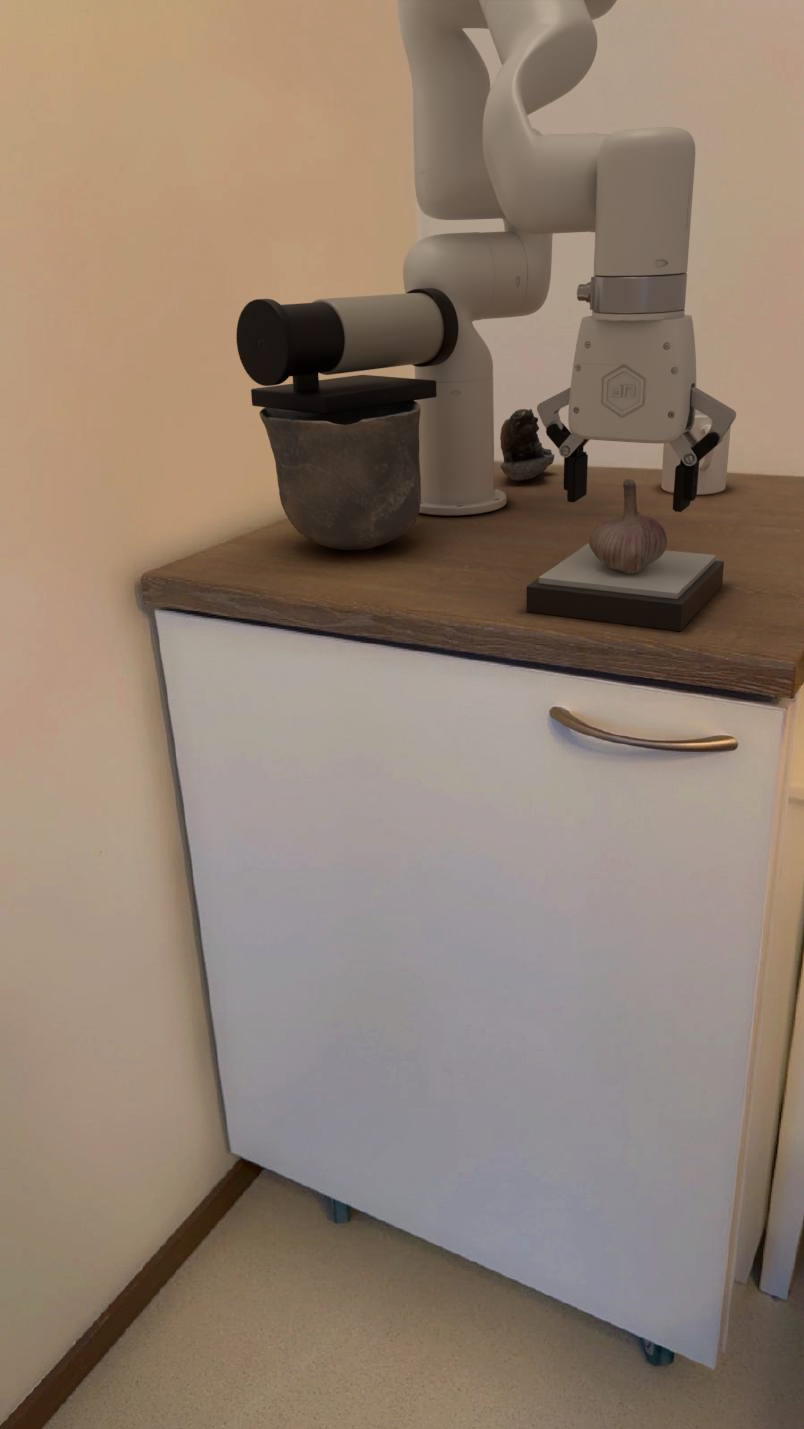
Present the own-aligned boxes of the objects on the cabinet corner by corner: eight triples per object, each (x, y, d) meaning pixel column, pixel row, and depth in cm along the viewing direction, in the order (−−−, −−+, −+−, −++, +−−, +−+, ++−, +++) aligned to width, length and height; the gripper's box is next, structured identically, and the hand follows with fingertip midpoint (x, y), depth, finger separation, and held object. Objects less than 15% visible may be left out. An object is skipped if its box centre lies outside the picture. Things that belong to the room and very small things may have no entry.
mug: (675, 503, 132) (680, 421, 128) (656, 483, 143) (660, 407, 139) (740, 500, 132) (747, 419, 128) (716, 481, 143) (722, 405, 139)
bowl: (239, 560, 116) (224, 418, 110) (311, 521, 131) (301, 394, 125) (391, 570, 110) (384, 420, 104) (448, 529, 124) (445, 395, 118)
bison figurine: (507, 470, 156) (507, 399, 152) (556, 470, 154) (557, 398, 150) (496, 488, 145) (496, 411, 141) (548, 488, 143) (549, 410, 139)
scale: (526, 611, 96) (526, 579, 95) (581, 570, 107) (582, 541, 106) (680, 631, 90) (682, 597, 89) (722, 585, 101) (724, 554, 100)
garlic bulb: (638, 583, 93) (642, 491, 89) (568, 569, 97) (570, 481, 94) (682, 563, 98) (688, 475, 94) (614, 551, 102) (617, 467, 99)
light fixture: (221, 298, 109) (393, 288, 125) (230, 409, 113) (396, 385, 129) (297, 298, 101) (471, 288, 117) (304, 418, 105) (471, 392, 121)
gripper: (523, 302, 89) (521, 505, 96) (733, 302, 81) (714, 523, 89) (557, 295, 95) (553, 487, 102) (756, 295, 87) (736, 502, 94)
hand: (627, 503), depth 95 cm, fingers open, 9 cm apart
